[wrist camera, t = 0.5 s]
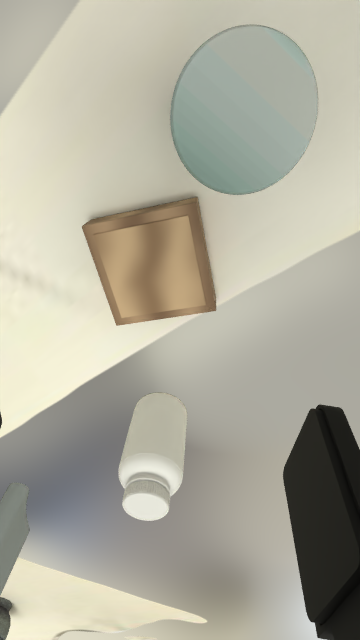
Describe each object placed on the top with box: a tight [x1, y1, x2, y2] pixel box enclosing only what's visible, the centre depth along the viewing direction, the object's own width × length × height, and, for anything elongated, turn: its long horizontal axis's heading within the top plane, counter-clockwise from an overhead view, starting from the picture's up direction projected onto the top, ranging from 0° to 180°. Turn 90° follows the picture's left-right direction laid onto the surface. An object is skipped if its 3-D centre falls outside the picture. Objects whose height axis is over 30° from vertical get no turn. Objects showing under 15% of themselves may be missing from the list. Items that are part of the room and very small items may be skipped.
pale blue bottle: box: [170, 25, 318, 195], centre depth 23 cm, size 6×6×20 cm
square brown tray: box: [82, 197, 216, 325], centre depth 38 cm, size 12×12×3 cm
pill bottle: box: [119, 392, 187, 521], centre depth 44 cm, size 8×8×15 cm
